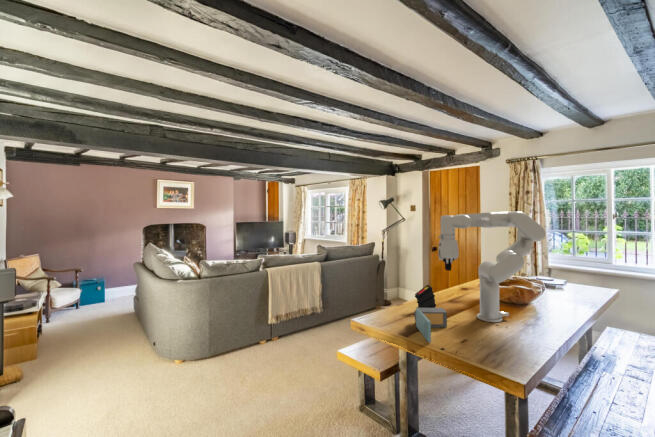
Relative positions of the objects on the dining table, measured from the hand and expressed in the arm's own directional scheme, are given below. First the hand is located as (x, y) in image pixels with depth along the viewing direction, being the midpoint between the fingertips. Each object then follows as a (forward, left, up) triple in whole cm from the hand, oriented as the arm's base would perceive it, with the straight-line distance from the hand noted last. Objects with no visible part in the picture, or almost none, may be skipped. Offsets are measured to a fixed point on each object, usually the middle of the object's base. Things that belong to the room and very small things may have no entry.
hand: (448, 270), depth 170 cm
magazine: (+10, -12, -27) cm, 32 cm away
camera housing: (+12, +11, -27) cm, 31 cm away
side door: (+20, +23, -27) cm, 40 cm away
